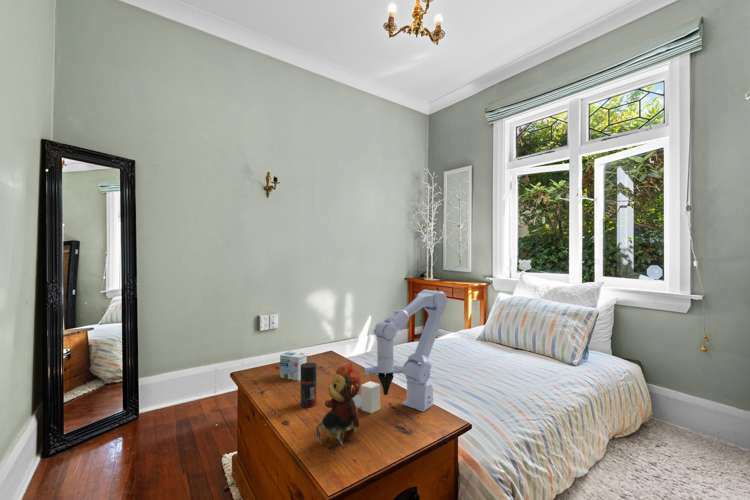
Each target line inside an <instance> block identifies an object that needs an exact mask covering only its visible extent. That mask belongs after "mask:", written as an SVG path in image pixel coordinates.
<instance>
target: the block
mask: <svg viewBox="0 0 750 500" xmlns="http://www.w3.org/2000/svg"><path fill="white" fill-rule="evenodd" d="M360 396H361V408H360V409H361V411H364V412H366V413H370V414H374V413H375V412H377V411H379V410H380V409H381V383H377V382H374V381H371V380H370V381H367V382H365V383H363V384H360Z"/></svg>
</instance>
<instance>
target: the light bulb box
mask: <svg viewBox="0 0 750 500" xmlns="http://www.w3.org/2000/svg"><path fill="white" fill-rule="evenodd" d="M307 356H308V355H307V353H305V352H298V351H290V350H289V351H286V352H284V353H282V354H280V355H279V359H280V360H279V366H280V367H279V378H280V377H281V379H285V378H287V380H290V379H292V381H296V380H297V381H296V382H300V381H301V364H304V363H308V362H307V358H308V357H307Z"/></svg>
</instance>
